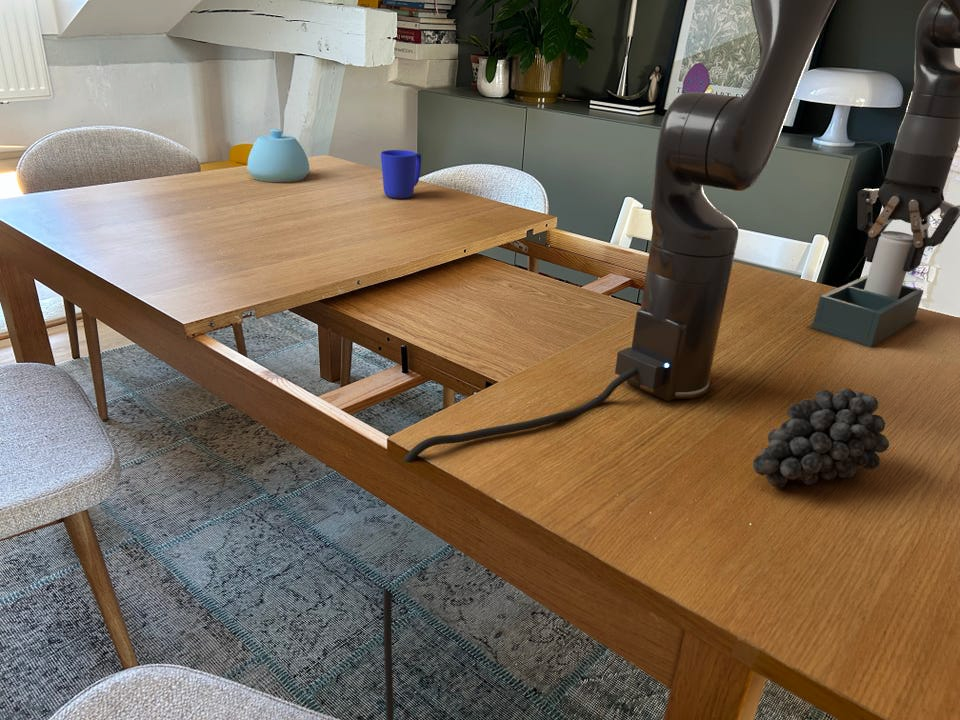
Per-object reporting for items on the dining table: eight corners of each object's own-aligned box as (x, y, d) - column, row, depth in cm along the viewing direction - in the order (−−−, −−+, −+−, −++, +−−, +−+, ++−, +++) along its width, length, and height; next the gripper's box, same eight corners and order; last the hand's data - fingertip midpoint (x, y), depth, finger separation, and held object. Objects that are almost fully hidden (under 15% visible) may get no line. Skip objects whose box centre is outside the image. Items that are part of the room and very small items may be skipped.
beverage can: (857, 312, 112) (880, 235, 107) (859, 303, 116) (880, 228, 110) (893, 319, 110) (917, 241, 105) (893, 309, 114) (916, 234, 109)
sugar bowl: (321, 175, 189) (319, 129, 184) (286, 186, 176) (283, 136, 172) (273, 169, 194) (269, 123, 189) (235, 178, 181) (231, 130, 176)
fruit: (787, 418, 64) (904, 386, 70) (720, 403, 71) (830, 376, 77) (792, 512, 65) (906, 474, 71) (725, 488, 73) (833, 455, 78)
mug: (432, 193, 176) (433, 151, 172) (401, 202, 167) (401, 157, 163) (405, 188, 180) (405, 146, 176) (373, 196, 171) (373, 152, 167)
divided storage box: (913, 321, 113) (923, 290, 111) (871, 347, 103) (881, 313, 101) (857, 304, 119) (865, 275, 117) (811, 327, 108) (819, 296, 106)
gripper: (861, 143, 105) (831, 258, 112) (973, 159, 95) (932, 284, 102) (881, 139, 109) (851, 250, 117) (990, 155, 100) (950, 274, 107)
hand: (889, 265), depth 109 cm, fingers closed on beverage can, 4 cm apart
